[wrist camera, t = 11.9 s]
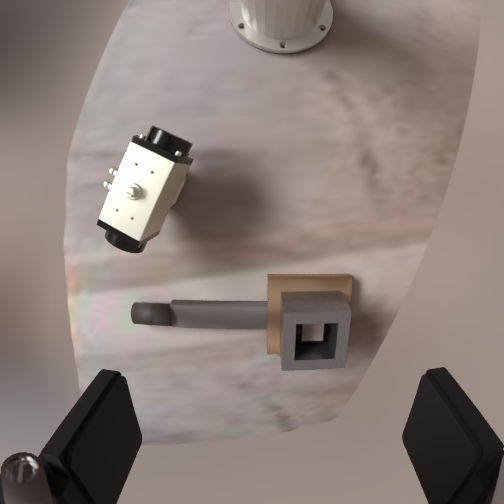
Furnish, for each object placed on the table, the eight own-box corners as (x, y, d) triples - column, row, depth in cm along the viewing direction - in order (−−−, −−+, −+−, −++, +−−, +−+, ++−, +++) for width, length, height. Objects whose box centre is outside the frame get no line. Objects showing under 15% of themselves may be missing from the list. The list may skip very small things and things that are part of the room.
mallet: (134, 273, 40) (117, 287, 35) (348, 273, 39) (360, 288, 34) (143, 341, 42) (130, 362, 37) (341, 344, 42) (350, 366, 36)
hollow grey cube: (280, 291, 38) (283, 312, 32) (339, 290, 38) (351, 310, 32) (279, 343, 39) (281, 370, 34) (334, 342, 39) (344, 367, 33)
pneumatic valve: (208, 150, 36) (182, 139, 25) (165, 237, 39) (127, 264, 27) (167, 131, 36) (127, 115, 24) (128, 217, 38) (78, 236, 27)
